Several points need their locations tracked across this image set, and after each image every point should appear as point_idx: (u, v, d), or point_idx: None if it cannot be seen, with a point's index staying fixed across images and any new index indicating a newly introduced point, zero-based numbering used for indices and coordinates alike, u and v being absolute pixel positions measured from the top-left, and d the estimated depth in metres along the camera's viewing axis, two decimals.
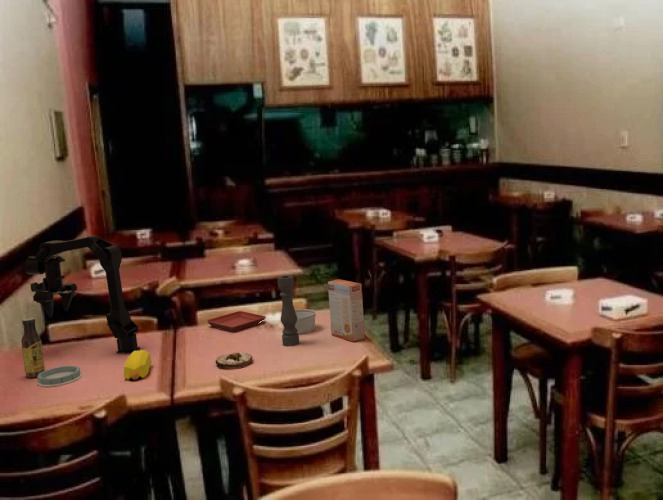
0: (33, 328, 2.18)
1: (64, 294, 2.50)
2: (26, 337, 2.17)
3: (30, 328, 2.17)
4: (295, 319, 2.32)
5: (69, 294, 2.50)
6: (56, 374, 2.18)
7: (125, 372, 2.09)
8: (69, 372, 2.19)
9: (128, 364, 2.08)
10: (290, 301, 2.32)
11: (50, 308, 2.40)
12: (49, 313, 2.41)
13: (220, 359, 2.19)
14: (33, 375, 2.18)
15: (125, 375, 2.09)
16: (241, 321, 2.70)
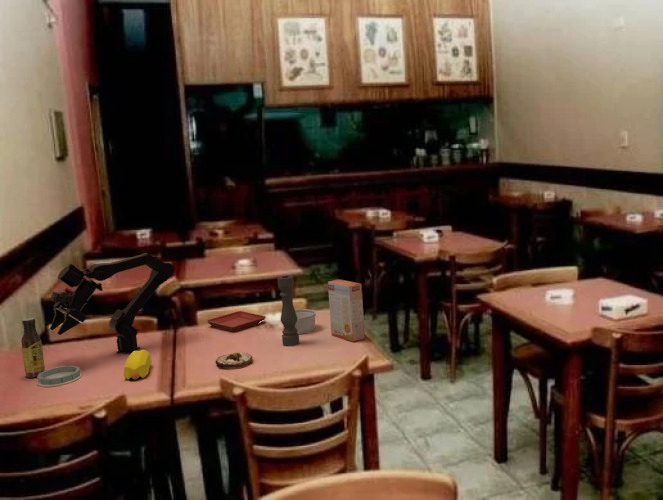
0: (33, 328, 2.18)
1: (61, 313, 2.30)
2: (26, 337, 2.17)
3: (30, 328, 2.17)
4: (295, 319, 2.32)
5: None
6: (56, 374, 2.18)
7: (125, 372, 2.09)
8: (69, 372, 2.19)
9: (128, 364, 2.08)
10: (290, 301, 2.32)
11: (70, 327, 2.22)
12: (63, 330, 2.21)
13: (220, 359, 2.19)
14: (33, 375, 2.18)
15: (125, 375, 2.09)
16: (241, 321, 2.70)
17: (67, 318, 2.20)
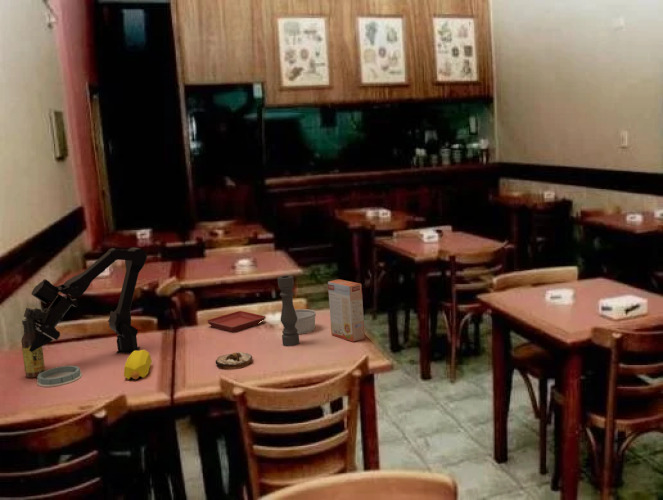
0: (33, 328, 2.18)
1: None
2: (26, 337, 2.17)
3: (30, 328, 2.17)
4: (295, 319, 2.32)
5: None
6: (56, 374, 2.18)
7: (125, 372, 2.09)
8: (69, 372, 2.19)
9: (128, 364, 2.09)
10: (290, 301, 2.32)
11: (42, 344, 2.17)
12: (35, 347, 2.16)
13: (220, 359, 2.19)
14: (33, 375, 2.18)
15: (125, 375, 2.09)
16: (241, 321, 2.70)
17: (39, 335, 2.16)
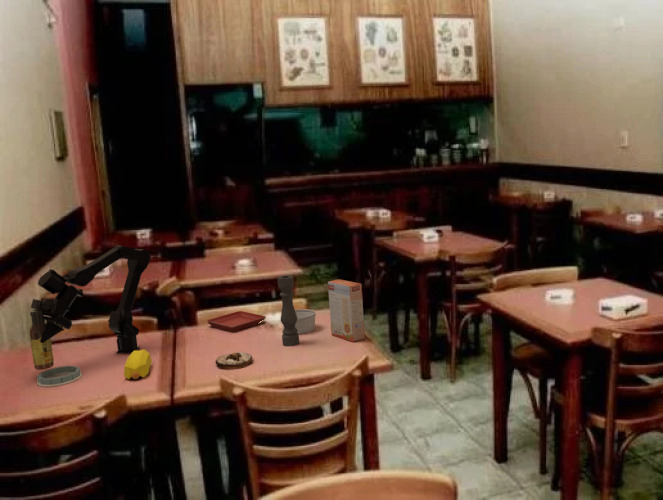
0: (42, 319, 2.14)
1: None
2: (35, 329, 2.13)
3: (40, 319, 2.14)
4: (295, 319, 2.32)
5: (47, 326, 2.21)
6: (56, 374, 2.18)
7: (125, 372, 2.09)
8: (69, 372, 2.19)
9: (128, 364, 2.09)
10: (290, 301, 2.32)
11: (53, 335, 2.14)
12: (46, 338, 2.13)
13: (220, 359, 2.19)
14: (43, 367, 2.14)
15: (125, 375, 2.09)
16: (241, 321, 2.70)
17: (50, 325, 2.13)
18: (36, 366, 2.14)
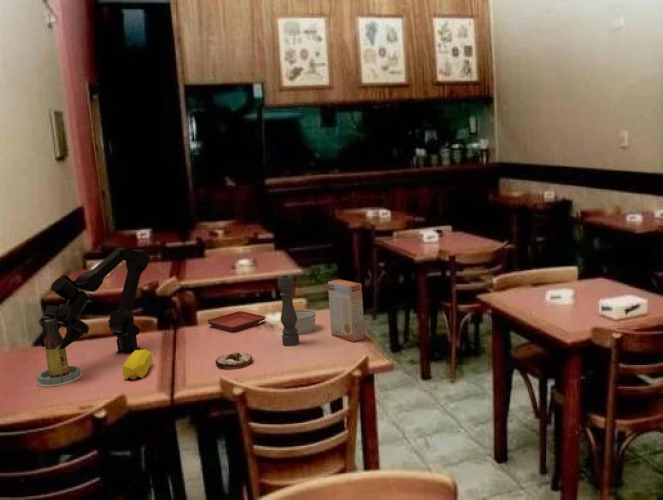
0: (57, 328, 2.13)
1: None
2: (51, 338, 2.11)
3: (55, 329, 2.12)
4: (295, 319, 2.32)
5: None
6: None
7: (124, 371, 2.09)
8: (69, 372, 2.19)
9: (127, 364, 2.09)
10: (290, 301, 2.32)
11: (72, 341, 2.12)
12: (65, 344, 2.11)
13: (220, 359, 2.19)
14: (61, 376, 2.12)
15: (124, 374, 2.09)
16: (241, 321, 2.70)
17: (70, 331, 2.11)
18: (53, 376, 2.12)
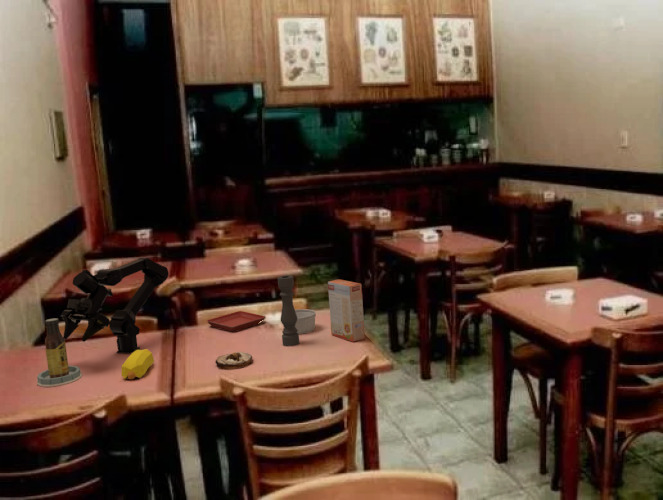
0: (58, 328, 2.13)
1: (72, 322, 2.25)
2: (52, 338, 2.11)
3: (56, 329, 2.12)
4: (295, 319, 2.32)
5: (76, 325, 2.27)
6: None
7: (122, 371, 2.10)
8: (69, 372, 2.19)
9: (125, 363, 2.09)
10: (290, 301, 2.32)
11: (93, 333, 2.20)
12: (87, 336, 2.18)
13: (220, 359, 2.19)
14: (61, 376, 2.12)
15: (122, 374, 2.10)
16: (241, 321, 2.70)
17: (92, 324, 2.18)
18: (53, 376, 2.12)
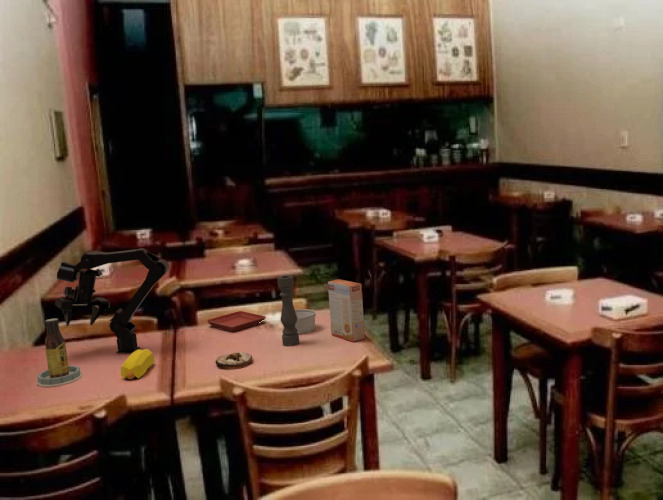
0: (58, 328, 2.13)
1: (95, 308, 2.42)
2: (52, 338, 2.11)
3: (56, 329, 2.12)
4: (295, 319, 2.32)
5: (97, 310, 2.41)
6: None
7: (122, 371, 2.10)
8: (69, 372, 2.19)
9: (124, 363, 2.09)
10: (290, 301, 2.32)
11: (67, 317, 2.33)
12: (66, 321, 2.35)
13: (220, 359, 2.19)
14: (61, 376, 2.12)
15: (122, 374, 2.10)
16: (241, 321, 2.70)
17: None
18: (53, 376, 2.12)
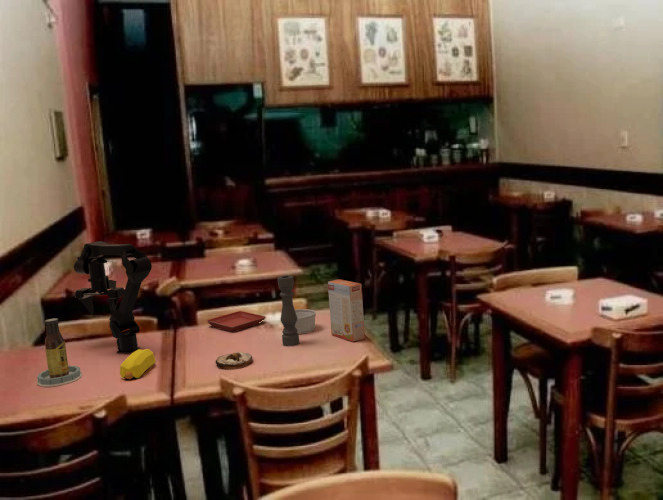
0: (58, 328, 2.13)
1: None
2: (52, 338, 2.11)
3: (56, 329, 2.12)
4: (295, 319, 2.32)
5: None
6: None
7: (121, 371, 2.10)
8: (69, 372, 2.19)
9: (123, 363, 2.10)
10: (290, 301, 2.32)
11: None
12: None
13: (220, 359, 2.19)
14: (61, 376, 2.12)
15: (121, 374, 2.10)
16: (241, 321, 2.70)
17: None
18: (53, 376, 2.12)
